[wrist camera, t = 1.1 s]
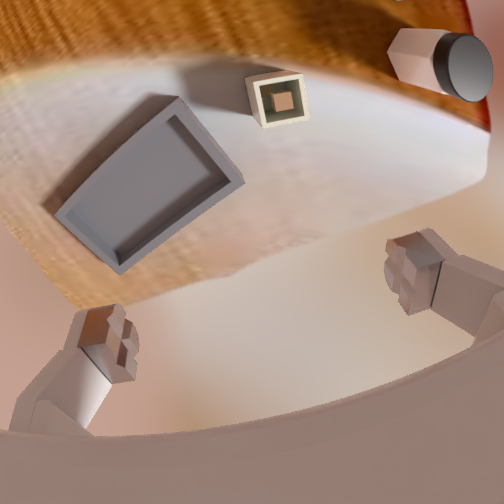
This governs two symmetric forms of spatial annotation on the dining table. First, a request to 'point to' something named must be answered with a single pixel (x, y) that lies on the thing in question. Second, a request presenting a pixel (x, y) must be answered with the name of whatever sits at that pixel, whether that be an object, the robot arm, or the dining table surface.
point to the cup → (277, 98)
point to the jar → (442, 62)
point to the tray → (150, 188)
